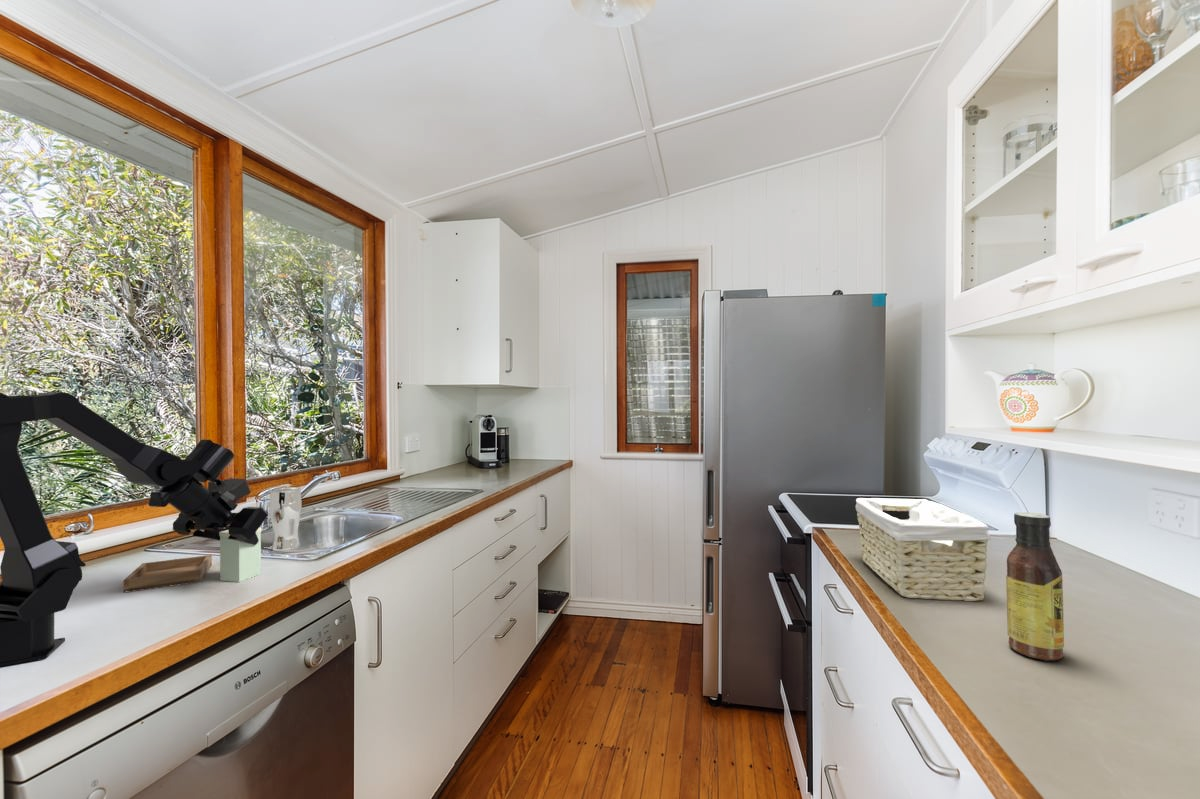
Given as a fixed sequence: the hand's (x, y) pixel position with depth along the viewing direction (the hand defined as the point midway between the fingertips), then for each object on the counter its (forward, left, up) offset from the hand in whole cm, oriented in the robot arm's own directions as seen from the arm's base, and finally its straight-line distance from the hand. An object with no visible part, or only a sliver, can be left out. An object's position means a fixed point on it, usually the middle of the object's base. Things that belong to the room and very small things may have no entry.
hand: (246, 541), depth 109 cm
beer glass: (+20, -6, -7) cm, 22 cm away
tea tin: (-1, +1, -7) cm, 7 cm away
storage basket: (-73, -120, -7) cm, 141 cm away
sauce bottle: (-98, -105, -7) cm, 144 cm away
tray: (+6, +14, -7) cm, 17 cm away
